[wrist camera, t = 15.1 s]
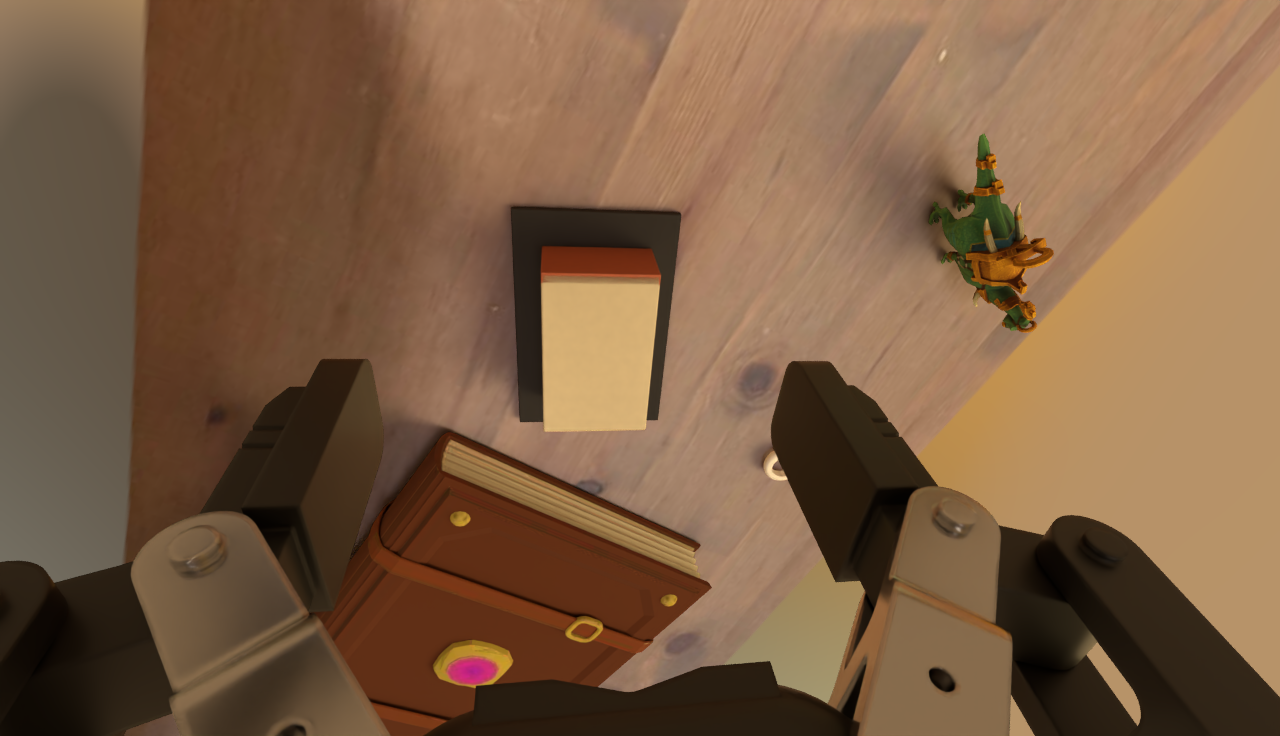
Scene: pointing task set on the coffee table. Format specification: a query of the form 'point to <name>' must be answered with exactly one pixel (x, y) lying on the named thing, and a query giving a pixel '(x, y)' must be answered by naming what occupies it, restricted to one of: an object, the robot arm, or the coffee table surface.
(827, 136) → the coffee table surface
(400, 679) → the book
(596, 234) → the felt pad
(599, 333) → the top book
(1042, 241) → the figurine
